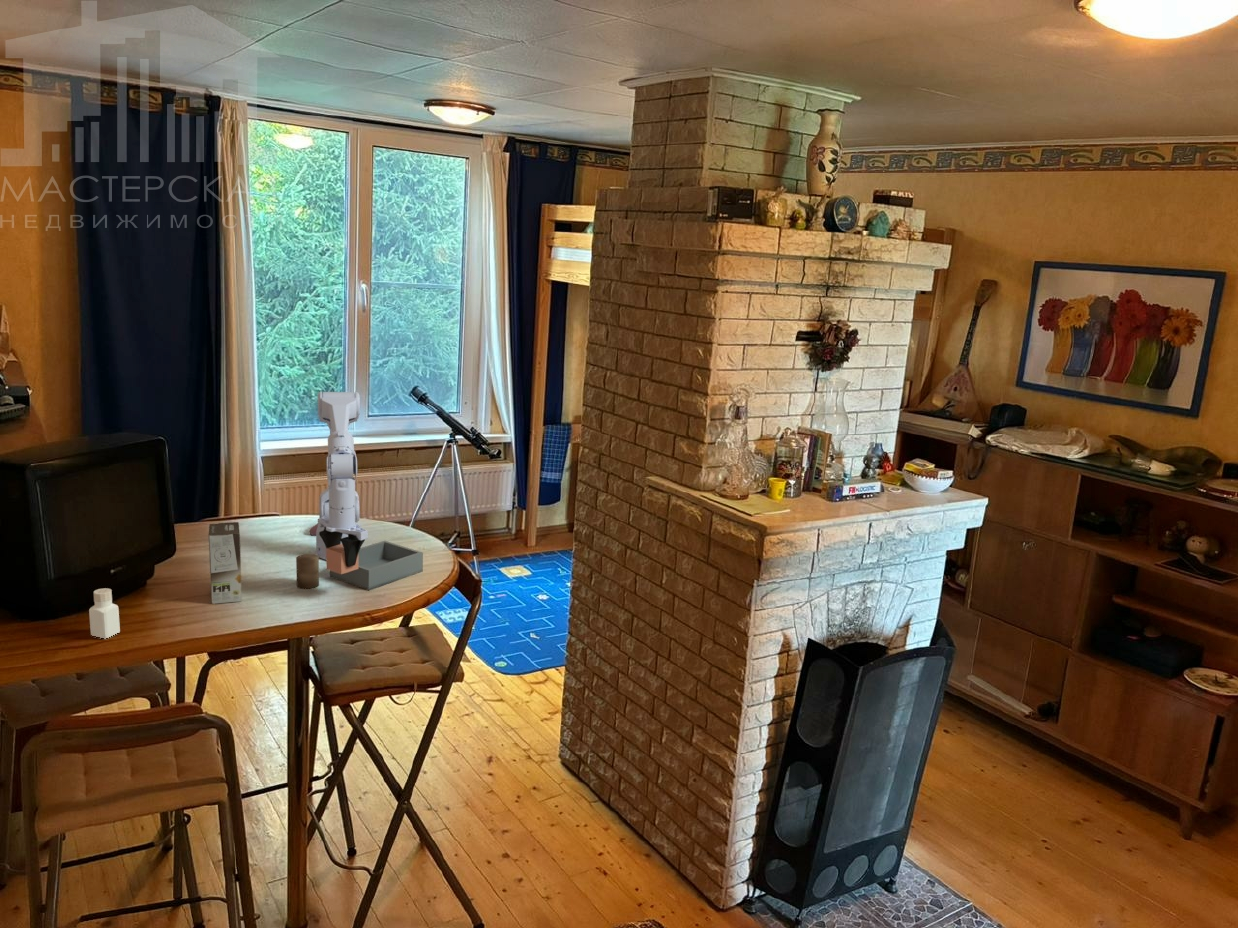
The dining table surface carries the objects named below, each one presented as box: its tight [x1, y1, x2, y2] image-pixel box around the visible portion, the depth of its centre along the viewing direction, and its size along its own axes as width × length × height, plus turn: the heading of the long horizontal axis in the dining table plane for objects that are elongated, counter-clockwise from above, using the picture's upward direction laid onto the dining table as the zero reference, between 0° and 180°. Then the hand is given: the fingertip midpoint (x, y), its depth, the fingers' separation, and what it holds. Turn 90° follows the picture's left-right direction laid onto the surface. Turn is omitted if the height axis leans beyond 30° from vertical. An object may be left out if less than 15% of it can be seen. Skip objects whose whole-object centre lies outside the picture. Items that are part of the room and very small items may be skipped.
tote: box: [329, 540, 424, 591], centre depth 230 cm, size 14×18×5 cm
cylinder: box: [295, 553, 320, 590], centre depth 220 cm, size 5×5×7 cm
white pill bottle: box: [88, 587, 121, 640], centre depth 187 cm, size 4×4×10 cm
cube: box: [325, 544, 359, 574], centre depth 213 cm, size 5×5×5 cm
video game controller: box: [309, 522, 318, 536], centre depth 259 cm, size 10×5×7 cm, turn 169°
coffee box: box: [208, 521, 242, 605], centre depth 210 cm, size 9×6×16 cm
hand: (342, 562), depth 214 cm, fingers closed on cube, 5 cm apart
